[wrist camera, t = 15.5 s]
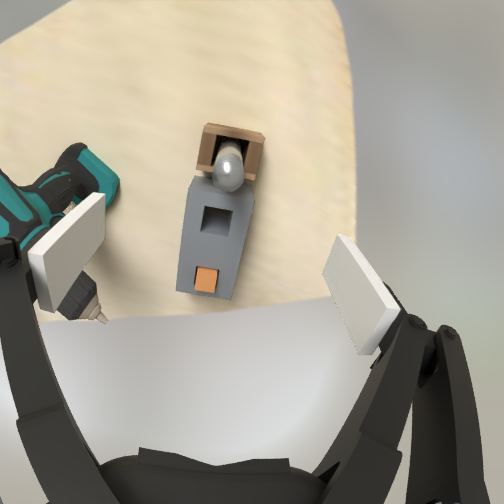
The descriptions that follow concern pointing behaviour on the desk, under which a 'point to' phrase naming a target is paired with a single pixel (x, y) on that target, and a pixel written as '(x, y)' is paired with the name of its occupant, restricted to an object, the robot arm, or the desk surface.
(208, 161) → the hollow brown square tube
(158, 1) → the desk surface
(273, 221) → the desk surface
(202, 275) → the plunger
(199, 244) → the socket block
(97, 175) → the power drill
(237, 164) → the cylinder
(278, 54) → the desk surface
